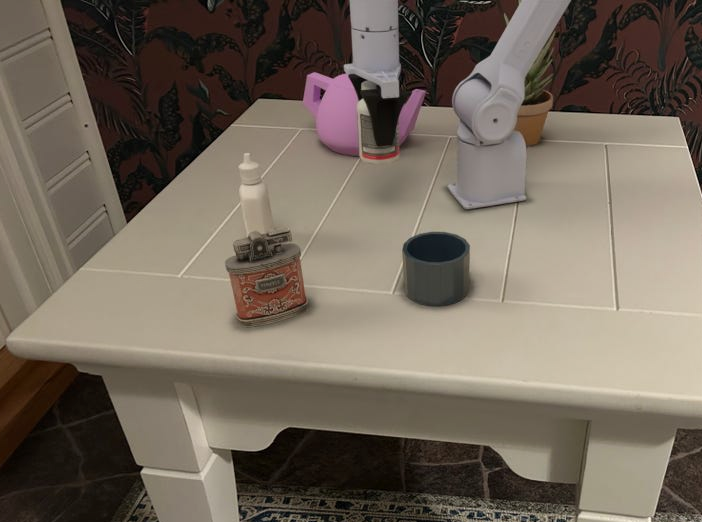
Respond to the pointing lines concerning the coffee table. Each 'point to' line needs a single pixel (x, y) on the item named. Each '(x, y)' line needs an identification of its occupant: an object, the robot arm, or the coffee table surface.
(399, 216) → the coffee table surface
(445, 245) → the tube
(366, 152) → the pill bottle
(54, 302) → the coffee table surface
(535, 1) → the robot arm
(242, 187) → the eye dropper bottle
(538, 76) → the potted plant
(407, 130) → the teapot
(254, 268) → the lighter
